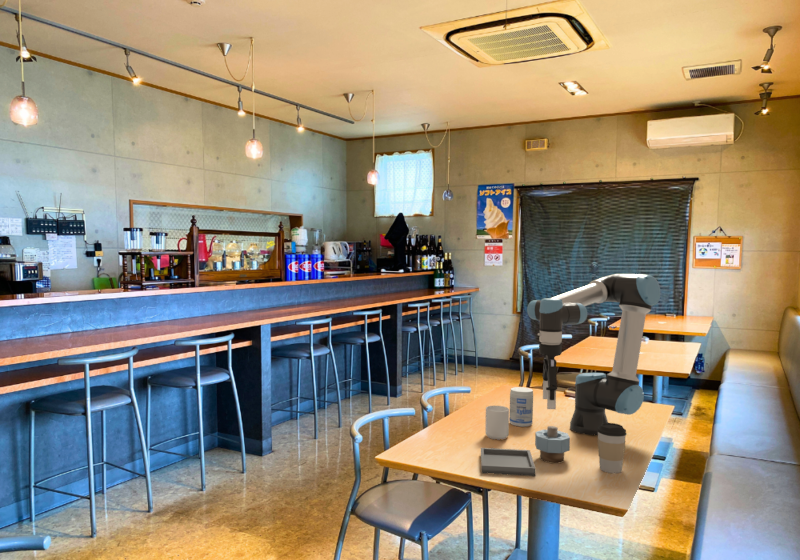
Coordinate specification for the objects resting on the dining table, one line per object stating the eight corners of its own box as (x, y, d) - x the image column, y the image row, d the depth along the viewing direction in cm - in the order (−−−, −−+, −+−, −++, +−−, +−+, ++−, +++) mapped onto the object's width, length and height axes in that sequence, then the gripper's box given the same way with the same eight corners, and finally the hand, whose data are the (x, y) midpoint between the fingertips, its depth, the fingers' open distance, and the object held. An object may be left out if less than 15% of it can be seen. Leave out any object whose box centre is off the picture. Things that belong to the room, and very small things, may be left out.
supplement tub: (517, 428, 229) (518, 392, 228) (504, 422, 237) (505, 387, 237) (537, 425, 232) (538, 390, 232) (523, 419, 241) (524, 385, 241)
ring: (565, 443, 199) (566, 430, 199) (571, 453, 188) (571, 440, 188) (534, 441, 200) (534, 429, 200) (537, 452, 189) (538, 439, 189)
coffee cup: (591, 464, 189) (592, 420, 189) (617, 463, 190) (618, 420, 189) (603, 474, 180) (604, 429, 180) (630, 474, 181) (631, 428, 180)
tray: (529, 457, 196) (529, 450, 196) (535, 476, 179) (535, 468, 179) (480, 454, 198) (480, 447, 198) (481, 473, 181) (481, 465, 181)
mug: (501, 442, 212) (501, 412, 211) (481, 437, 217) (481, 408, 217) (516, 434, 221) (516, 406, 221) (496, 429, 227) (496, 402, 226)
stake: (561, 455, 198) (562, 424, 197) (565, 463, 190) (566, 431, 189) (538, 454, 199) (539, 423, 198) (541, 462, 191) (542, 430, 190)
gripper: (535, 337, 207) (534, 394, 207) (543, 348, 182) (541, 413, 183) (556, 338, 205) (555, 395, 206) (566, 349, 181) (565, 414, 182)
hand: (548, 403), depth 195 cm, fingers open, 13 cm apart
